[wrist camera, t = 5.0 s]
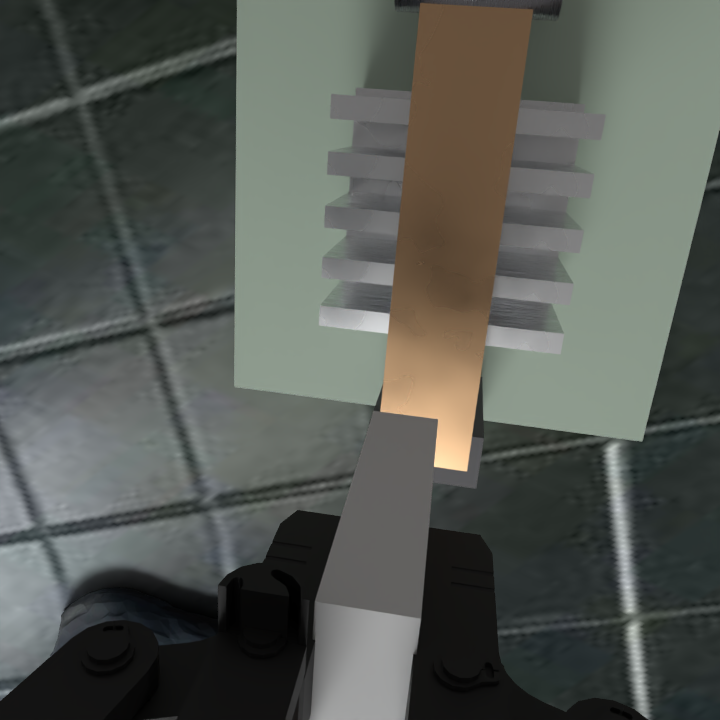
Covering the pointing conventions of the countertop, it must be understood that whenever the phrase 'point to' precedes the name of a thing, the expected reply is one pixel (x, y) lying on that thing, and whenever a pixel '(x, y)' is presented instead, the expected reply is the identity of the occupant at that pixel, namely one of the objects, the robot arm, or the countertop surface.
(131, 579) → the countertop surface
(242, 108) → the board
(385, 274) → the heatsink
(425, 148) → the strap
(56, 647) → the electronic device
